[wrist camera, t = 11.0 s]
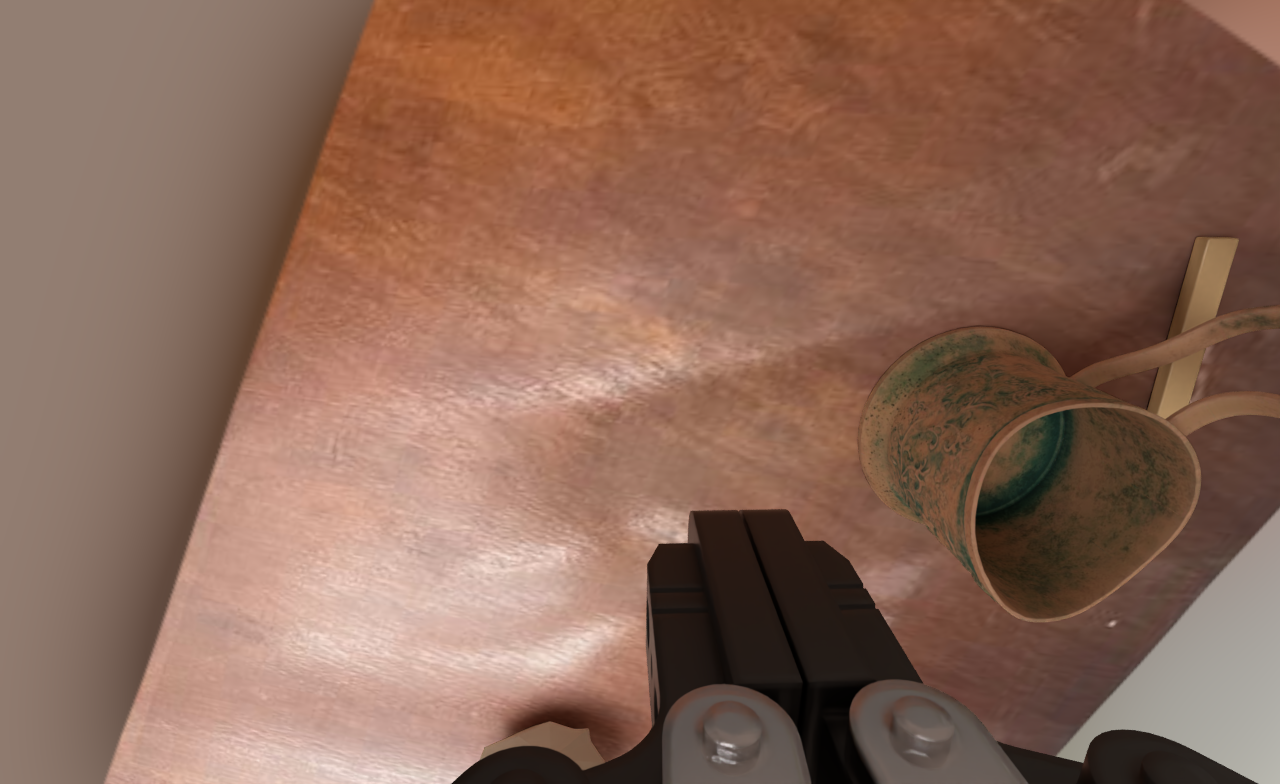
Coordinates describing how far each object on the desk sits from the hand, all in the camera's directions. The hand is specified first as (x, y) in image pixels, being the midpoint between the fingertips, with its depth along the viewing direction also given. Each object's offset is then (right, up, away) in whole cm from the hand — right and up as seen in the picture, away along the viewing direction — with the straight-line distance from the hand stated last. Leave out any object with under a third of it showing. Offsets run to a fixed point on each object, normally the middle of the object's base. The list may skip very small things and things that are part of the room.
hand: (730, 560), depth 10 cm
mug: (+18, +3, +25) cm, 31 cm away
